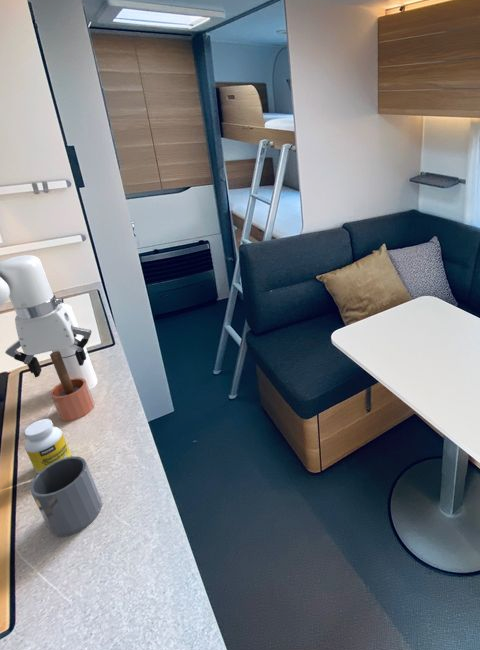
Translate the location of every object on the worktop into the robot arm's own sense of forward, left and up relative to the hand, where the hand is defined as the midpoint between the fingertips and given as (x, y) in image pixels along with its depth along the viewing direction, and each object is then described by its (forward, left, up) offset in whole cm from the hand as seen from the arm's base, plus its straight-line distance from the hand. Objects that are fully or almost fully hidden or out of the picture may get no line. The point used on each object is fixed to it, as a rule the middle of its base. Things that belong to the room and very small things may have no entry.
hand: (60, 367), depth 102 cm
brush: (0, 0, -14) cm, 14 cm away
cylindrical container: (0, +11, -14) cm, 18 cm away
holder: (0, 0, -14) cm, 14 cm away
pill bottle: (-2, -18, -14) cm, 23 cm away
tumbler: (+4, -34, -14) cm, 37 cm away
